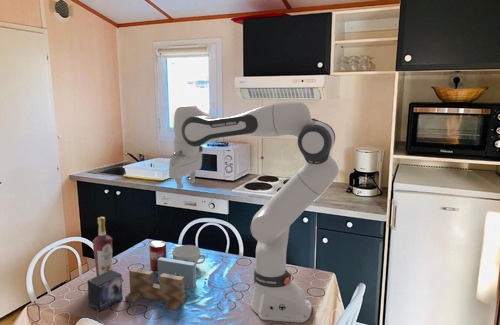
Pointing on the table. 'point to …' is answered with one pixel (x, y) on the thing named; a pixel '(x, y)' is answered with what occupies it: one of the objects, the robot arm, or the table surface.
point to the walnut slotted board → (157, 288)
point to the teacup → (187, 254)
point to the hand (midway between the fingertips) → (186, 185)
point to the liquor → (102, 249)
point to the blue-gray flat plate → (178, 270)
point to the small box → (104, 290)
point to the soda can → (156, 254)
